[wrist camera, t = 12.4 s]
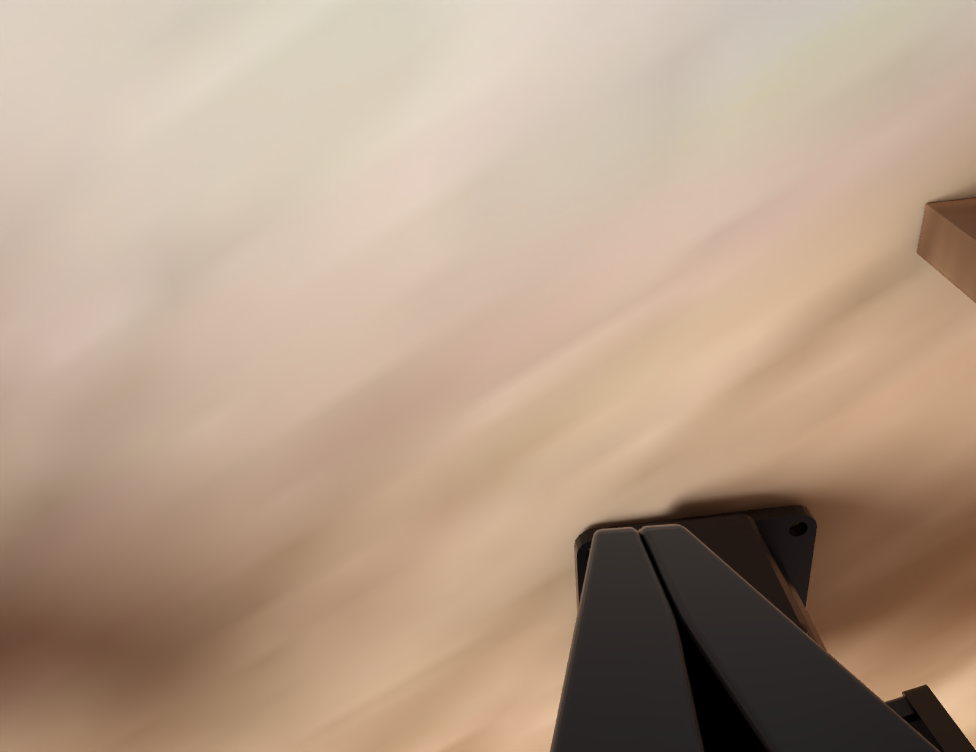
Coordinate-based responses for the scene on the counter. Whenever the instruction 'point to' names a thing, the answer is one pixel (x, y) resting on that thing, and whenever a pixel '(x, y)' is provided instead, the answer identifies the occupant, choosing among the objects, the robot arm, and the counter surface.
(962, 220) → the brown wooden beams
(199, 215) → the counter surface
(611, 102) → the counter surface
